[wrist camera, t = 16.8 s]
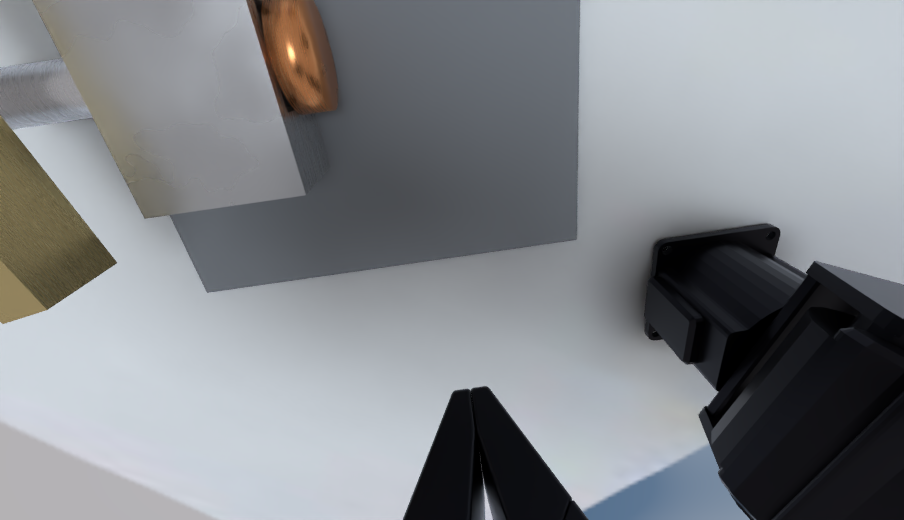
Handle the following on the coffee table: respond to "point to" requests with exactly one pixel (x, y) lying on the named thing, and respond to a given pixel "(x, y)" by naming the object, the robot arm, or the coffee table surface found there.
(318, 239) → the mat
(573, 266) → the coffee table surface
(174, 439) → the coffee table surface
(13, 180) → the keeper
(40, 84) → the lynch pin
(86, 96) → the block
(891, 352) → the robot arm
